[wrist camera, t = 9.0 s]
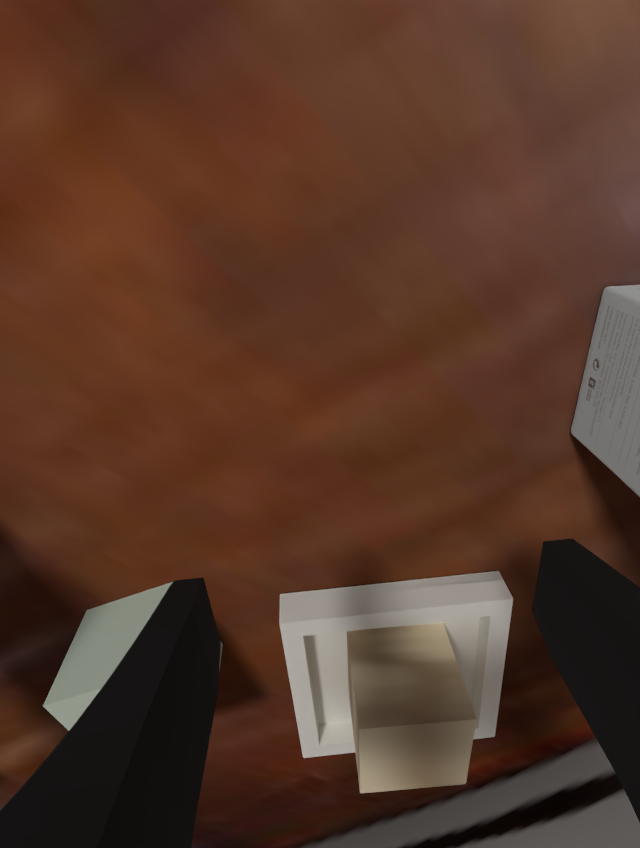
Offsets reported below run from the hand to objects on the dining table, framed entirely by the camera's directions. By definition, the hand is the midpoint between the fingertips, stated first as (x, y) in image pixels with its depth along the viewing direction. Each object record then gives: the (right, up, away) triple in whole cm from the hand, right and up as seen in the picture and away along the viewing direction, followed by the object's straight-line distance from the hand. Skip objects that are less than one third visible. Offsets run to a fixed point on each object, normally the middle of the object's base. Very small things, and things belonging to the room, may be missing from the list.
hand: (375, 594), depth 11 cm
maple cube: (+3, -9, +16) cm, 18 cm away
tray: (+3, -9, +17) cm, 19 cm away
